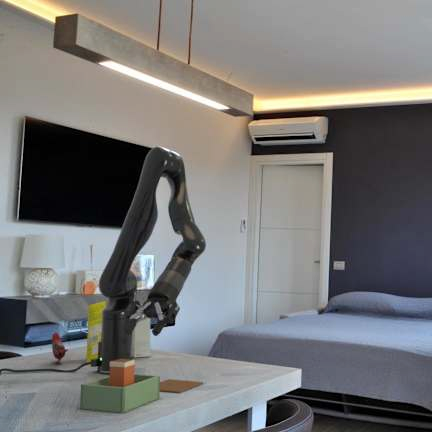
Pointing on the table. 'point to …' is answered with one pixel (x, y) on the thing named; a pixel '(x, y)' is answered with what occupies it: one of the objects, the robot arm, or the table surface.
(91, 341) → the food package
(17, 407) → the table surface
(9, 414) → the table surface
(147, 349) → the cosmetic box
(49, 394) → the table surface
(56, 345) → the decorative bird figurine
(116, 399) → the bin
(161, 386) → the cork mat
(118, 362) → the tea packet
